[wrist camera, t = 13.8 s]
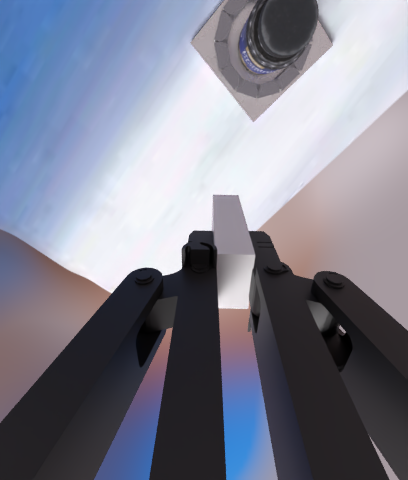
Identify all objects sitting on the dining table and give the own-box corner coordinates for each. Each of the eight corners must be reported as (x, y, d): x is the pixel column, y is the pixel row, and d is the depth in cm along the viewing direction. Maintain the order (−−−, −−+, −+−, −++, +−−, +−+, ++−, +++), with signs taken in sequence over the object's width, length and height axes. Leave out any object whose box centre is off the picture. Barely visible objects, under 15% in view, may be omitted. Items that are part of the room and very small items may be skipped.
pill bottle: (231, 66, 31) (240, 53, 22) (248, 2, 29) (268, -45, 19) (277, 81, 32) (306, 75, 23) (298, 21, 29) (342, -16, 20)
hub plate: (190, 43, 31) (189, 40, 29) (270, -56, 27) (274, -66, 25) (252, 121, 35) (254, 122, 33) (330, 46, 31) (337, 43, 29)
